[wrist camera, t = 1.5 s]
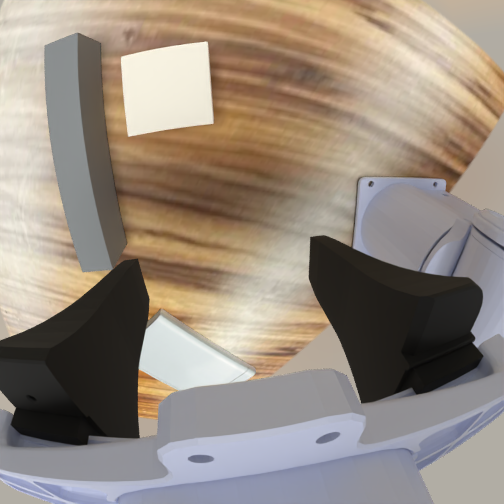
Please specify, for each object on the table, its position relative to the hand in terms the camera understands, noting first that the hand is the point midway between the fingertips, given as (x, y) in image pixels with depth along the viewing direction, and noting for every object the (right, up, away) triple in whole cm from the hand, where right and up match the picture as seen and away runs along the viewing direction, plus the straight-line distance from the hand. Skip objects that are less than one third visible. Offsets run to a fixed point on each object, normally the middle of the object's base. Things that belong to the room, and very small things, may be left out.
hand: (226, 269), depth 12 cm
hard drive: (-6, -10, +18) cm, 21 cm away
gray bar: (-11, +8, +6) cm, 15 cm away
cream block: (-4, +12, +5) cm, 14 cm away
